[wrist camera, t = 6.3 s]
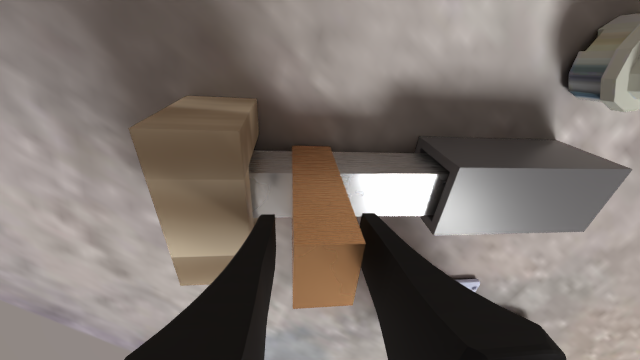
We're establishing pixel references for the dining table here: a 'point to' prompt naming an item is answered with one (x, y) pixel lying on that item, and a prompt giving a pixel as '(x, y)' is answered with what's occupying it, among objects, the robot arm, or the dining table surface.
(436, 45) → the dining table surface
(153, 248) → the dining table surface
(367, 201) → the brown and grey block
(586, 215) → the sleeve
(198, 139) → the socket block
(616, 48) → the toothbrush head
